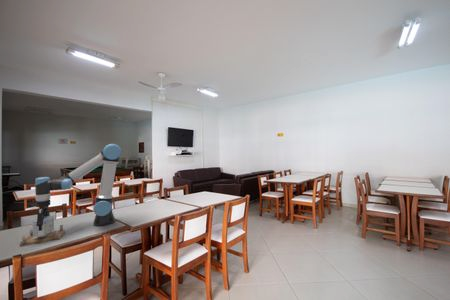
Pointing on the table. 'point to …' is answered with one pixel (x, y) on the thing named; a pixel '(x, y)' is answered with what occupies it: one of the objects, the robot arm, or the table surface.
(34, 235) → the light bulb box
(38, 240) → the dowel base
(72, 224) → the table surface
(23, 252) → the table surface
